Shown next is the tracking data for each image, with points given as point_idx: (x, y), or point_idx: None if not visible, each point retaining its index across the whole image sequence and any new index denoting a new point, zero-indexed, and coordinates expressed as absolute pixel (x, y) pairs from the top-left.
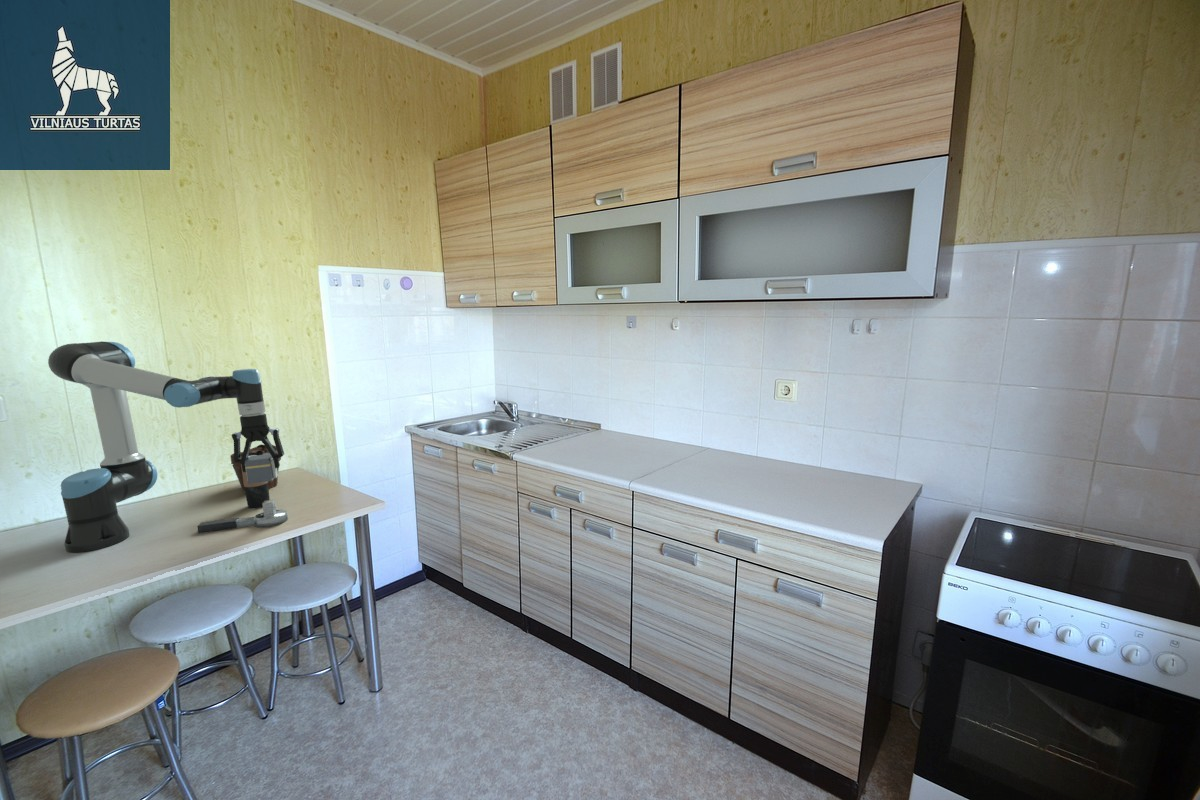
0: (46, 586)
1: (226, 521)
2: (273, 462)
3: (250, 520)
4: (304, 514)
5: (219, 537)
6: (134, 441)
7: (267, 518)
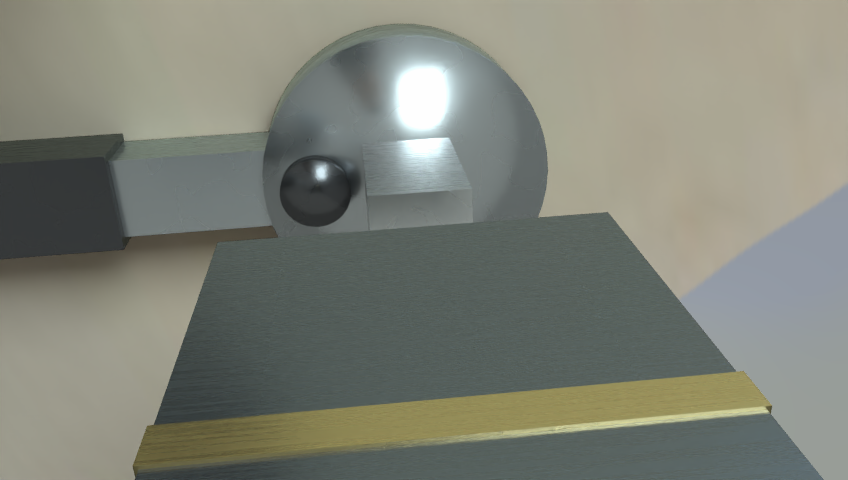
0: None
1: (33, 236)
2: None
3: (248, 224)
4: (660, 60)
5: (98, 375)
6: None
7: None
